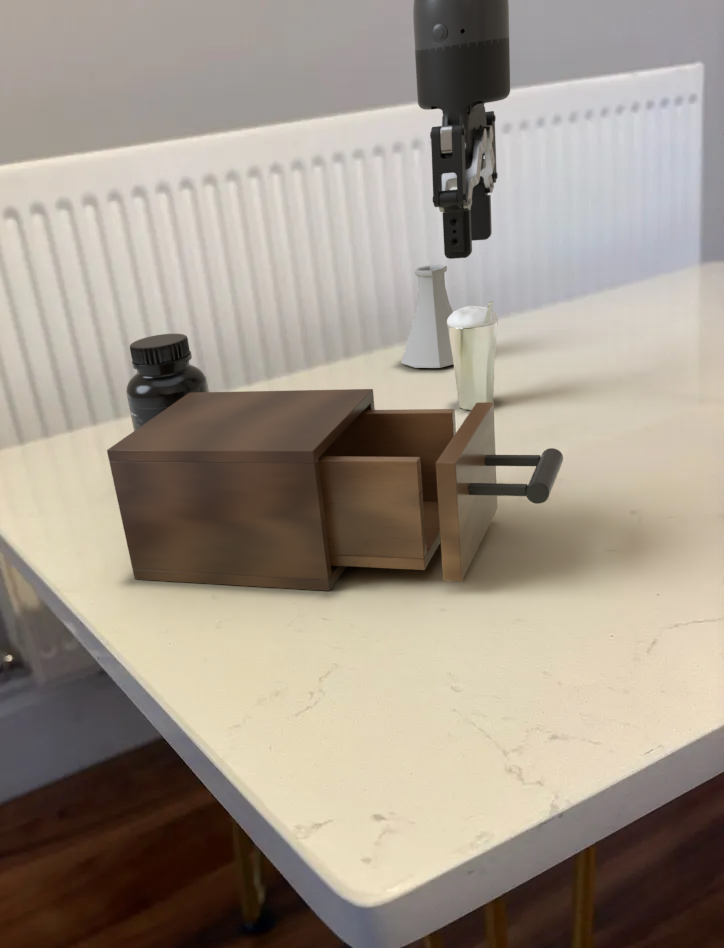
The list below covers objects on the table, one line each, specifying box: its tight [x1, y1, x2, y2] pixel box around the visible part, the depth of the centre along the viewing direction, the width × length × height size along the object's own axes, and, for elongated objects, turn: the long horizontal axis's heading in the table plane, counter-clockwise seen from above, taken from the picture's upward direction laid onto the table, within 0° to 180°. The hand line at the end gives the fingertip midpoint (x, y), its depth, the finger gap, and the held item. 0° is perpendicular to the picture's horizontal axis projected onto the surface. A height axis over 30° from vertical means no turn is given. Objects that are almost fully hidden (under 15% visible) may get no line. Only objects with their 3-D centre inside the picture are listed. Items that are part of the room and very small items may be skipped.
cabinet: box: [106, 388, 376, 592], centre depth 72 cm, size 15×13×10 cm
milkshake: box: [447, 301, 499, 411], centre depth 94 cm, size 5×5×10 cm
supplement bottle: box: [126, 333, 210, 432], centre depth 87 cm, size 7×7×12 cm
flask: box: [400, 264, 454, 369], centre depth 110 cm, size 7×7×10 cm
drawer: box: [318, 402, 564, 582], centre depth 68 cm, size 18×11×8 cm, turn 68°
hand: (469, 248), depth 90 cm, fingers open, 8 cm apart
